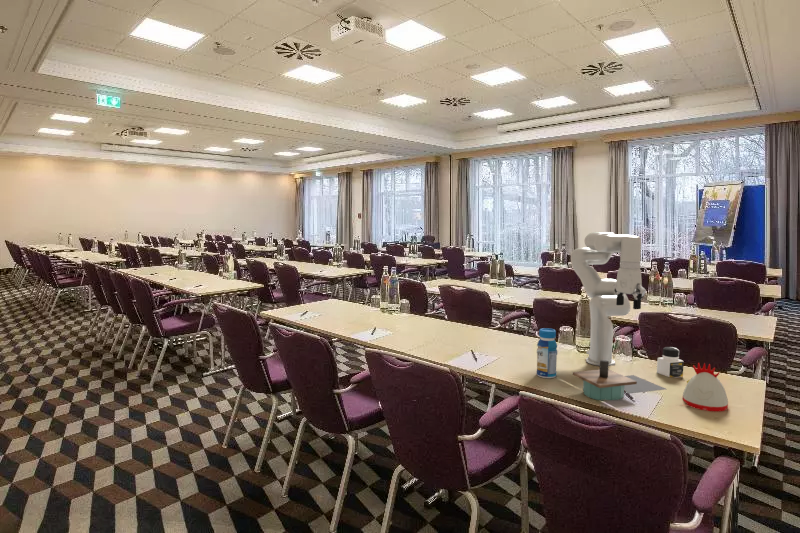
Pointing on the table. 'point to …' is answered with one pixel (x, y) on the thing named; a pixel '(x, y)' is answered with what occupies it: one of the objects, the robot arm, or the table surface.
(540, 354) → the beverage bottle
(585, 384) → the bowl
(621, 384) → the lid
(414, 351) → the table surface
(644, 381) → the mat
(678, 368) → the medicine bottle
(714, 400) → the kitchen timer
